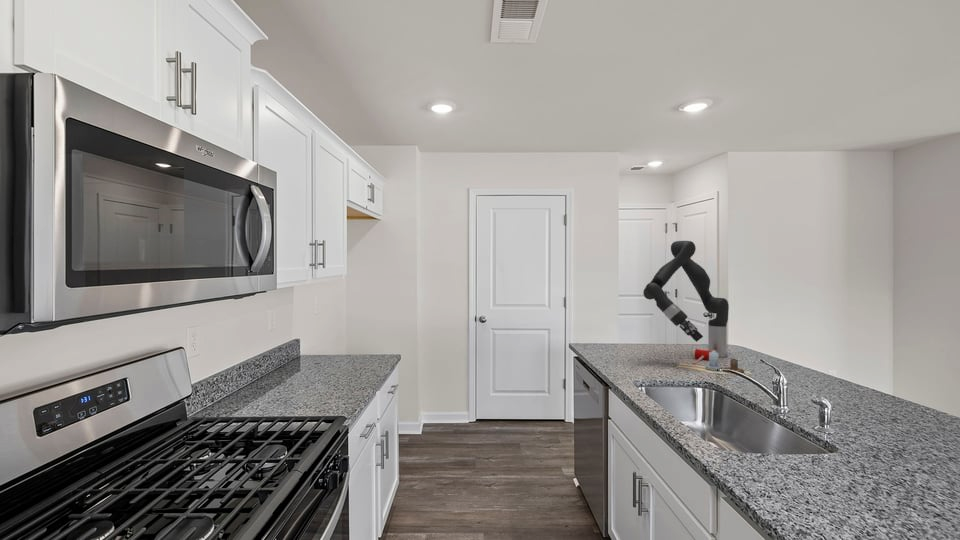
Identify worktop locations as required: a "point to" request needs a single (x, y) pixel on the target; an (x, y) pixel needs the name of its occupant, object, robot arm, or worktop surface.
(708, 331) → the robot arm
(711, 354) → the gear
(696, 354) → the toy hammer
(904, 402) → the worktop surface
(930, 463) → the worktop surface
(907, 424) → the worktop surface
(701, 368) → the gear board
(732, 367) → the gear
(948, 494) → the worktop surface
